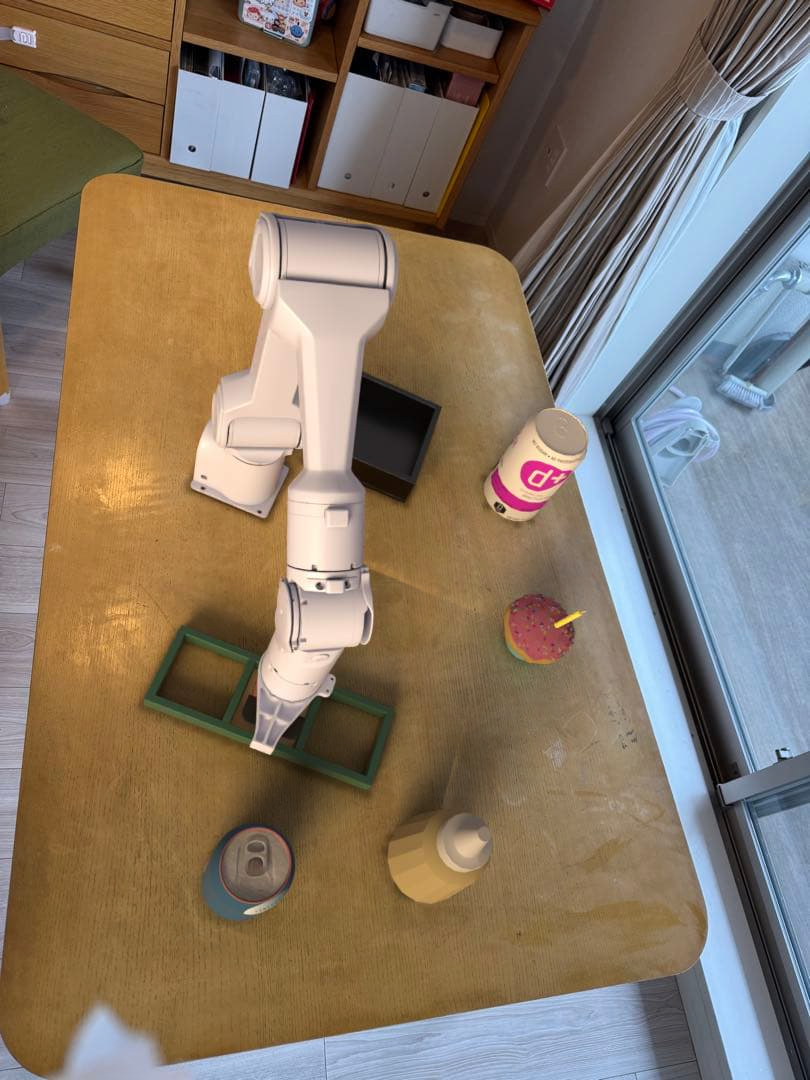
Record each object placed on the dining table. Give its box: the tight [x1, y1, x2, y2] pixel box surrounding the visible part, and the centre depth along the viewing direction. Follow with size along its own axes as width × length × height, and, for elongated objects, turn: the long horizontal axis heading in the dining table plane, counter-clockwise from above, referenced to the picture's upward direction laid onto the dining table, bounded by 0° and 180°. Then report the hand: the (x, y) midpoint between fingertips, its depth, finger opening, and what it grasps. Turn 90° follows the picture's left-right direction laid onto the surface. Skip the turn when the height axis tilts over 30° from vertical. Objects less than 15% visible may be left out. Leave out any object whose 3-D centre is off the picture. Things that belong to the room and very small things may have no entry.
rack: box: [143, 624, 396, 791], centre depth 79 cm, size 8×24×2 cm, turn 73°
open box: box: [351, 370, 443, 504], centre depth 99 cm, size 14×14×5 cm
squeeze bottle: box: [386, 806, 494, 905], centre depth 70 cm, size 8×8×18 cm
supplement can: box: [483, 407, 590, 522], centre depth 97 cm, size 8×8×15 cm
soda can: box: [200, 822, 296, 922], centre depth 67 cm, size 7×7×12 cm
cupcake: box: [503, 593, 588, 665], centre depth 88 cm, size 9×8×12 cm
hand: (276, 701), depth 77 cm, fingers closed on tumbler, 5 cm apart
